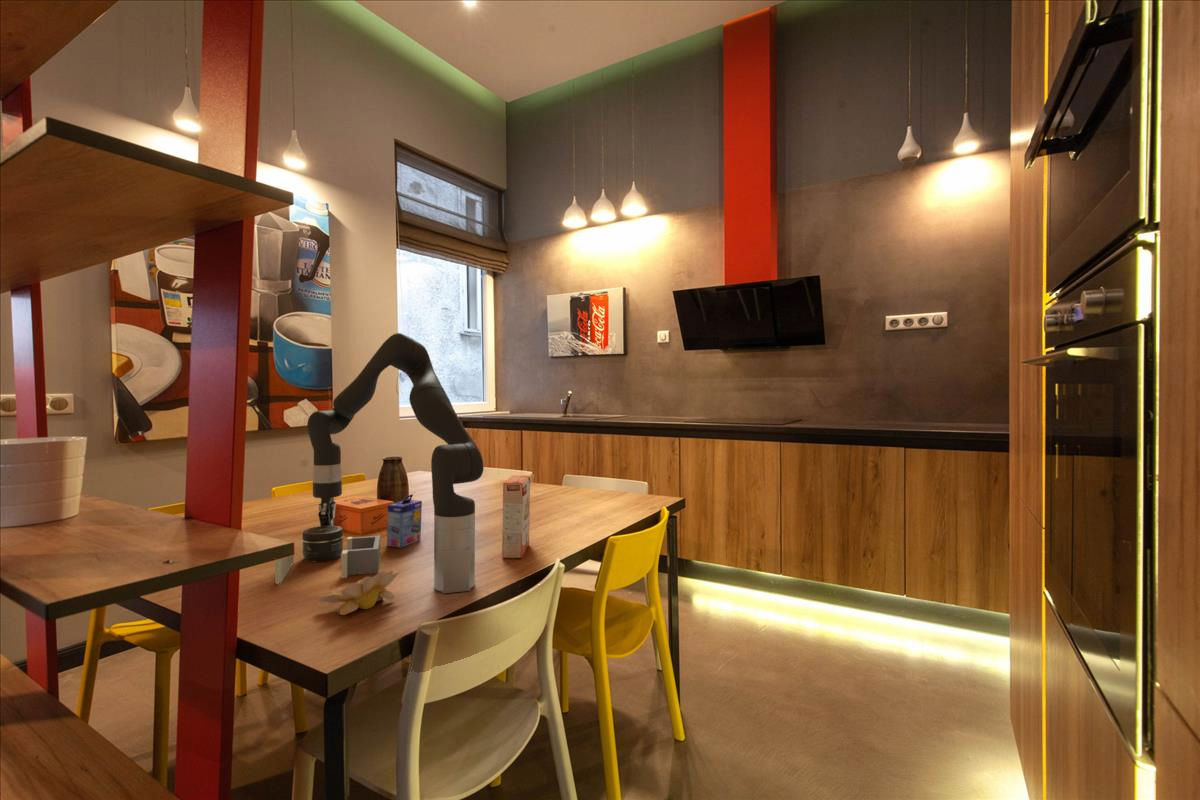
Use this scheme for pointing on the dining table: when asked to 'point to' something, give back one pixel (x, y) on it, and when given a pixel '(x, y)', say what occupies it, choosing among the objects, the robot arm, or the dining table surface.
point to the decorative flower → (362, 593)
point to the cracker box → (516, 516)
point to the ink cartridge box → (404, 522)
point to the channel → (346, 558)
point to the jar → (322, 543)
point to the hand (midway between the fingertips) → (327, 539)
